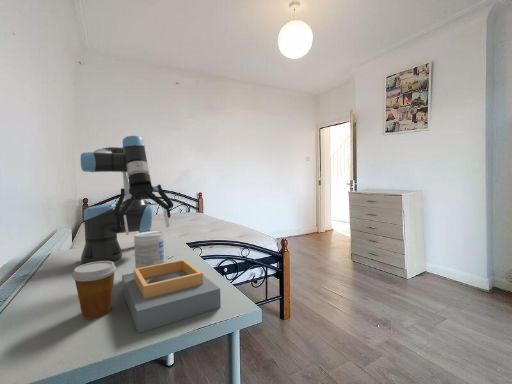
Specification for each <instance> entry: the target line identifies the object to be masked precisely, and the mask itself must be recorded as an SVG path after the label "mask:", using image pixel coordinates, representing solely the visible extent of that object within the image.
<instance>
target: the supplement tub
mask: <svg viewBox="0 0 512 384" xmlns="http://www.w3.org/2000/svg"><path fill="white" fill-rule="evenodd" d="M163 235H164V234H163V231H157V230H154V231H153V230H152V231H151V230H150V232H142V233H139V232H138V233H135V234H134V236H133V237H134V239H133V243H134V245H133V246H134V262H135V263H134V265H135V266H134V267H135V268H134V269H136V268H141V267H146V266H152V265H157V264H162V263H165V252H164V249H165V247H164V236H163Z"/></svg>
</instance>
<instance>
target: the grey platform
mask: <svg viewBox="0 0 512 384" xmlns="http://www.w3.org/2000/svg"><path fill="white" fill-rule="evenodd" d="M121 280H122V281H121V282H122V283H121V284H122V286H121V287H122V293H123V297H124V298H125V302H126V304H127V306H128V307H127V308H128V309H129V313H130V315H131V319H132V321H133V323H134V326H135V329H136V332H137V334H140V333H141V334H142V333H143V332H147V331H150V330H154V329H157V328H159V327H162V326H166V325H169V324H172V323H176V322H178V321H181V320H184V319H189V318H190V317H194V316H199V315H200V314H204V313H207V312H209V311H213V310H216V309H218V308H221V307H222V306H221V301H222V300H221V288H220V287H219V286H218V285H216V283H214V282H212V280H211V279H209V278H208V277H206V276H205V275H204V274H203V272H202V271H201V270H199V269H198V268H197V267H196V266H194V265H193V264H192V263H190V262H189V261H188V260H186V259H185V258H184V259H179V260H174V261H168V262H164V263H162V264H157V265H152V266H146V267H141V268H133V272H132V273H127V274H121Z"/></svg>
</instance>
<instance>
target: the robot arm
mask: <svg viewBox="0 0 512 384" xmlns="http://www.w3.org/2000/svg"><path fill="white" fill-rule="evenodd" d="M145 146H146V145H145V143H144V139H143V138H142V137H141V136H138V135H127V136H125V137H123V139H122V147H119V146H117V147H113V146H112V147H111V146H108V147H103V148H99V149H95V150H94V151H93V152H92V151H91V152H90V151H89V152H87V151H86V152H82V153H81V154H80V167H81V171H83V172H85V173H86V172H87V173H102V172H103V173H104V172H105V173H108V172H109V173H110V172H112V173H121V174H122V179H123V181H122V182H123V187H122V188H121V189H120V196H119V198H118V201H117V203H114V202H113V203H105V204H99V205H93V206H90V207H89V206H88V207H87V208H85V209H84V212H83V223H84V240H85V241H84V242H85V243H84V247H83V250H82V253H81V257H80V263H81V265H83V264H87V263H91V262H97V261H111V262H116V261H118V260H121V258H123V250H122V249H121V248H122V247H121V246H120V243H119V241H118V234H123V233H125V235H126V236H129V234H130V233H133V232H139V231H144V230H149V229H150V230H151V229H152V226H153V225H152V223H153V222H152V221H153V204H149V202H148V201H147V200H148V199H149V200H152V201H153V202H155V203H156V204H157V205H158V206H160V207H161V208H162V209H163V210H162V211H163V216H164V222H165V223H164V224H165V226H166V228H169V227H170V222H169V221H170V220H169V219H171V212H170V211H171V210H170V209H172V208H173V207H174V203H173V202H172V200H171V199H170V198H169V196H168V195H167V194H166V193H165V191H164V190H163V189H162V185H161V184H157V185H156V186H155V185H154V186H153V184H152V179H151V175H150V169H149V163H148V160H147V154H146V153H147V152H146V148H145ZM154 191H155V192H157V193H158V194H159V196H160V197H161V198H162V199H163V200H164V201H163V200H162V199H161V198H160V197H158V196H157V195H156V194H155V193H153V192H154Z"/></svg>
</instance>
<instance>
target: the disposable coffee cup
mask: <svg viewBox="0 0 512 384" xmlns="http://www.w3.org/2000/svg"><path fill="white" fill-rule="evenodd" d="M116 270H117V266H115V261H113V262H111V261H97V262H91V263H87V264H81V265H78V266H77V267H74V270H73V273H72V276H71V277H72V278H73V280H74V282H75V288H76V291H77V297H78V302H79V306H80V310H81V315H82V318H84V319H87V320H93V319H97V318H101V317H104V316H105V315H108V314H109V313H110V312H111V310H112V305H113V304H112V303H113V294H114V293H113V291H114V281H115V273H116Z"/></svg>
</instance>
